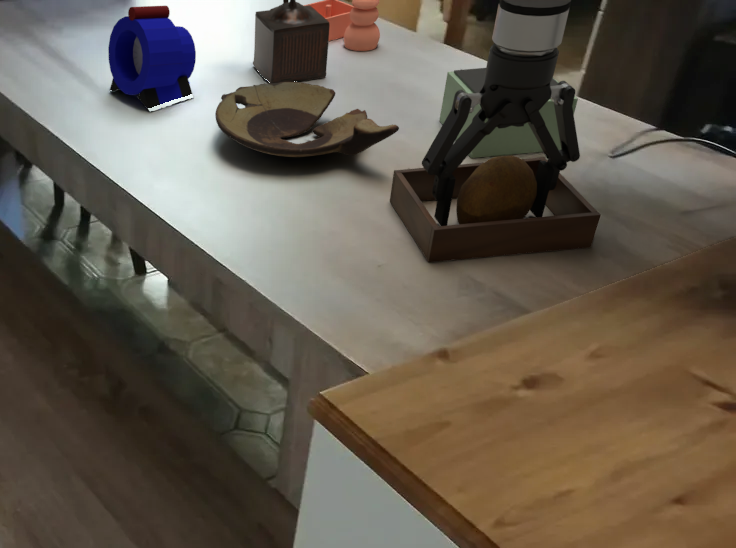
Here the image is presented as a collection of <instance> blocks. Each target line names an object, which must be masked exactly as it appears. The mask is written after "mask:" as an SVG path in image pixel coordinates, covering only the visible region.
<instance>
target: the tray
mask: <svg viewBox="0 0 736 548" xmlns="http://www.w3.org/2000/svg"><path fill="white" fill-rule="evenodd" d="M521 159H522V160H524V161H525V162H526V163H527V164H528V166H529V167H530V168H531V169H532V171H533V173H534V176H535V178H536V174H537V169H538V165H539V161H544V160H545V161H546V162H547V161H548V159H547V157H546V156H540V157H529V158H521ZM484 162H485V161H484ZM484 162H474V163H473V162H472V163H461V164H460V165H459V166H458V167H457V168H456V169H455V171H454V172H453V173H452V175H453V176H454V177H455V178H456V180H455V186H454V191H453V196H452V199H458V195H459V192H460V189H461V187H462V185H463V184H464V183H465V182H466V180H467V179H468V178H469V177H470V176H471V174H472V173H473V172H474V171H475V169H476V168H477V167H479V166H480V165H481V164H482V163H484ZM434 178H435V175H429V174H428V172H427V171H426V170H425V168H424V167H417V168H416V167H415V168H405V169H394V170H393V174H392V182H391V189H390V195H389V203H390V204H391V205H392V207H393V209H394V210H395V212H396V213H397V215H398V216H399V218H400V220H401V221H402V223H403V224H404V226H405V228H406V229H407V231H408V232H409V234H410V235H411V237H412V238H413V240H414V241H415V243H416V245H417V246H418V248H419V249H420V251H421V253H422V254H423V256H424V258H425V259H426V261H427V262H428V263H438V262H447V261H457V260H458V261H459V260H460V261H461V260H470V259H482V258H491V257H492V258H493V257H503V256H513V255H525V254H535V253H547V252H557V251H567V250H579V249H590V248H592V245H593V243H594V239H595V235H596V233H597V229H598V227H599V223H600V221H601V220H600V219H601V216H602V214H601V213H600V212H599V211H598V210H597V209H596V208H595V207H594V206H593V205H592V204H591V203H590V202H589V201H588V200H587V199H586V198H585V197H584V195H583V194H581V193H580V192H579V191H578V190H577V188H575V187H574V185H572V184H571V183H570V181H568V180H567V178H566V177H565V176H564V175H563V174H562V173H561V172H560V173H559V177H558V180H557V184H556V187H555V188H554V190H549V192H548V196H547V200H546V204H545V207H547V208H548V209H549V210H550V211H551V212H552V214H553V215H548V216H542V217H535V216H534V217H524V218H523V219H513V220H502V221H491V222H480V223H469V224H459V223H458V224H447V226H441V225H439V224H438V222H436V220H435V219H434V218H433V216H432V214H431V213H430V212H429V210H428V209H427V208H426V206H425V204H424V203H423V202H424V201H436V199H435V198H434V197H433V194H432V190H433V184H434Z"/></svg>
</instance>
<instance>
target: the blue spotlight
mask: <svg viewBox="0 0 736 548" xmlns="http://www.w3.org/2000/svg"><path fill="white" fill-rule="evenodd" d="M170 12H171V11H170V8H169V6H168V5H148V6H146V5H145V6H130V7H129V8H128V12H127V15H128V16H126V15H125V16H123V17H121V18H119V19H118V20H117V21H116V23H115V24H114V25H113V28H112V30H111V33H110V35H109V41H108V46H107V47H108V50H107V51H108V64H109V70H110V73H111V76H112V80H111V84H110V87H109V91H110V90H112V92H115V91H121V92H122V93H123V94H125V95H129V96H136V95H137V99H138V100H139V101H140V102H141V104H142V105H143V106H144V107H145V106H146V107H147V108H152V107H154V106H157V105H160V104H163V103H165V102H169V101H171V100H174V99H178V98H181V97H185V96H188V95H190V94H193V92H192V88H191V84H190V81H189V78H191V76H192V74H193V72H194V69H195V65H196V57H197V51H196V44H195V41H194V38H193V37H192V36H193V35H192V34H191V33H190V31H189V30H188V29H187V28H186V27H184V26H177V25H175V23H174V22H173V21H172V19H171V18H170V15H171V14H170ZM146 107H145V108H146ZM147 108H146V109H147Z"/></svg>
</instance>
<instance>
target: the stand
mask: <svg viewBox="0 0 736 548" xmlns="http://www.w3.org/2000/svg"><path fill="white" fill-rule="evenodd" d="M485 72H486V67H479V68H468V69H466V68H465V69H455V70H452V71H447V74H446V80H445V85H444V86H445V87H444V91H443V96H442V103H441V109H440V114H439V120H438V121H439V122H440V124H441V125H443V123H444V122H445V120H446V118H447V116H448V115H449V113H450V111H451V109H452V105H453V101H454V96H455V93H456V92H457V91H459V90H463V91H464V92H465V93H479V92H480V90H481V89H482V87H483V85H484V81H485ZM559 82H560V81H558V80H557V79H555V78H554V77H553V79H552V80H551V82H550V86H555V85H557V84H558V83H559ZM578 101H579V98H578V97H577V96H576V95H575V96H574V101H573V106H572V108H573V114H574V115H575V111H576V109H577V105H578ZM480 109H481V106H480V105H479V104H478V105H476V106H475V107H474V111H473V112H472V113H469V115H468V118H467V120H466V122H465V124H464V126H463V128H462V129H461V131H460V133H459V134H458V136H457V138H456V140H457V139H458V138H459V137H460V136H461V134H462V133H463V132H464V131H465V130H466V129H467V128H468V126H469V125H470V124H471V123H472V119H473V117H474V116H475V115H476V114H477V113H478V112H479V110H480ZM539 112H540V114H541V116H542V118H543V120H544V122H545V125H546V127H547V129H548V131H549V133H550V135H551V137H552V138H553V140H554V142H555V144H556V146H557V148H558V150H561V143H560V137H559V131H558V126H557V120H556V114H555V108H554V103H553V102H552V101H551V97H550V99H549V100H548V101H547V102H546V104H545V105H544V106H543V107H542V108H541V109H540V110H539ZM487 121H488V119H487V118H486V120H485V123H486V122H487ZM456 140H455V141H456ZM535 153H544V152H543V150H542V148H541V146H540V145H539V143H538V141H537V139H536V137H535V135H534V133H533V132H532V130H531V128H530V126H529V124H528V123H526V124H524V126H521V127H516V126H509V127H506V128H498V127H496V128H495V129H494V130H493V131H492V132H491V133H490V134H489V135H486V136H485V137H484V138H483V139H482V140H481V141H480V142H479V144H478V145H477V146H476V147H475V148H474V149H473V150H472V151H471V153H470V154H469V155H468V156H469V158H470V159H476V158H489V157H497V156H512V155H513V156H514V155H522V154H535Z"/></svg>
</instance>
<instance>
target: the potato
mask: <svg viewBox="0 0 736 548" xmlns="http://www.w3.org/2000/svg"><path fill="white" fill-rule="evenodd" d="M522 159H523V158H520V157H519V156H516V155H514V154H513V155H501V156H492V157H491V158H488V159H487V160H485V161H484V163H483V162H481V163H482V164H481V165H480V166H479V167H477V168H476V169H475V171H474V172H473V173H472V174H471V176H470V177H469V178H468V179H467V180H466V182H465V183H464V184H463V185H462V187H461V189H460V192H459V195H458V198H456V199H457V200H456V209H455V210H456V211H455V212H456V219H457V223H458V224H469V223H480V222H491V221H502V220H513V219H524V218H526V216H527V215H528V213H529V212H530V209H531V207H532V205H533V203H534V201H535V199H536V196H537V182H536V179H535V176H534V173H533V171H532V169H531V168H530V167H529V166H528V164H527V163H526V162H525V161H524V160H522Z"/></svg>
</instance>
